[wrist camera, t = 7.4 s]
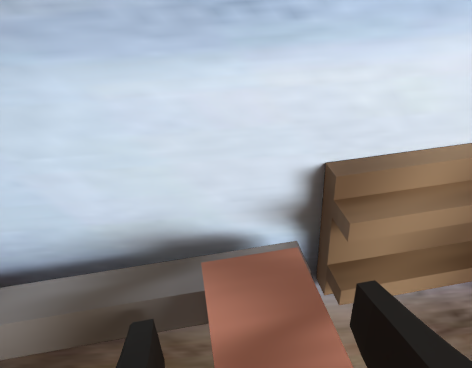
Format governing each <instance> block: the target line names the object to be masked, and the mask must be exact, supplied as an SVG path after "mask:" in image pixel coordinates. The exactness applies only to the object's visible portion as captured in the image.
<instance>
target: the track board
mask: <svg viewBox="0 0 472 368" xmlns="http://www.w3.org/2000/svg"><path fill="white" fill-rule="evenodd" d="M316 279H317V281H318V283H319V285H320V287H321V289H322V291H323V293H324V295H328V294H334V296H335V298H336V300H337V302H338V304H339V305H343V304H349V303H354V297H355V291H356V285H357V283H362V282H367V281H373V280H375V281H377V282H378V283H379V284H380V285H381V286H382V287H383V288H385V289H386V290H387V291H388V292H389V293H390V294H391V295H392V296H393V295H399V294H404V293H410V292H415V291H421V290H426V289H432V288H437V287H443V286H449V285H454V284H460V283H465V282H471V281H472V143H470V144H463V145H455V146H448V147H441V148H433V149H426V150H418V151H411V152H404V153H396V154H389V155H381V156H374V157H367V158H359V159H352V160H344V161H337V162H330V163H326V166H325V178H324V190H323V202H322V215H321V227H320V239H319V251H318V264H317V276H316Z"/></svg>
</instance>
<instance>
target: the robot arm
mask: <svg viewBox="0 0 472 368" xmlns="http://www.w3.org/2000/svg"><path fill="white" fill-rule="evenodd" d="M350 327H351V330H352V332H353V335H354V338H355V340H356V343H357V345H358V348H359V350H360V353H361V355H362V358H363V360H364V362H365V364H366V366H367V367H368V368H472V361H470V360H469V359H468V358H467V357H465V356H464V355H463V354H461V353H460V352H459V351H457V350H456V349H455V348H454V347H452V346H451V345H450V344H449V343H447V342H446V341H445V340H444V339H442V338H441V337H440V336H439V335H437V334H436V333H435V332H434V331H433V330H431V329H430V328H429V327H428V326H427V325H425V324H424V323H423V322H422V321H421V320H420V319H418V318H417V317H416V316H415V315H414V314H413V313H412V312H410V311H409V310H408V309H407V308H406V307H405V306H404V305H402V304H401V303H400V302H399V301H398V300H397V299H396V298H395V297H393V296H392V295H391V294H390V293H389V292H388V291H387V290H386V289H385V288H383V287H382V286H381V285H380V284H379V283H378V282H377V281H375V280H373V281H367V282H362V283H357V285H356V291H355V297H354V303H353V309H352V315H351V321H350ZM116 368H165V363H164V357H163V353H162V349H161V346H160V342H159V338H158V334H157V330H156V327H155V323H154V319H149V320H144V321H138V322H133V323H132V324H131V325H130V326H129V330H128V333H127V337H126V340H125V343H124V346H123V349H122V352H121V355H120V358H119V361H118V363H117V366H116Z"/></svg>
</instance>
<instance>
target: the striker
mask: <svg viewBox="0 0 472 368" xmlns="http://www.w3.org/2000/svg"><path fill="white" fill-rule="evenodd" d="M149 319H154V323H155V327H156V330H157V332H162V331H168V330H174V329H179V328H185V327H190V326H196V325H202V324H207V323H209V328H210V336H211V343H212V351H213V359H214V367H215V368H353V366H352V364H351V361H350V359H349V357H348V355H347V353H346V351H345V348H344V346H343V344H342V342H341V340H340V338H339V335H338V333H337V331H336V329H335V327H334V325H333V322H332V320H331V318H330V316H329V314H328V312H327V309H326V307H325V305H324V303H323V301H322V299H321V296H320V294H319V292H318V290H317V288H316V286H315V283H314V281H313V279H312V277H311V271H310V268H309V266H308V264H307V262H306V260H305V258H304V256H303V253H302V251H301V249H300V247H299V245H298V243H297V241H293V242H287V243H280V244H274V245H268V246H261V247H255V248H249V249H242V250H236V251H230V252H223V253H217V254H211V255H204V256H198V257H192V258H185V259H179V260H173V261H166V262H160V263H154V264H147V265H141V266H135V267H128V268H122V269H116V270H109V271H103V272H97V273H90V274H84V275H78V276H71V277H65V278H59V279H52V280H46V281H40V282H34V283H27V284H21V285H15V286H8V287H2V288H0V360H6V359H11V358H17V357H22V356H28V355H34V354H39V353H45V352H50V351H56V350H62V349H67V348H73V347H78V346H84V345H90V344H95V343H101V342H106V341H112V340H118V339H123V338H126V337H127V333H128V330H129V326H130V325H131V324H132V323H133V322H138V321H144V320H149Z"/></svg>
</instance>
